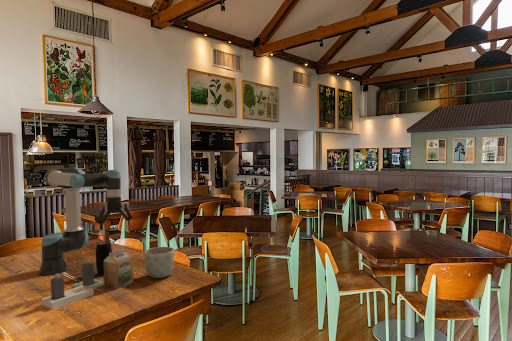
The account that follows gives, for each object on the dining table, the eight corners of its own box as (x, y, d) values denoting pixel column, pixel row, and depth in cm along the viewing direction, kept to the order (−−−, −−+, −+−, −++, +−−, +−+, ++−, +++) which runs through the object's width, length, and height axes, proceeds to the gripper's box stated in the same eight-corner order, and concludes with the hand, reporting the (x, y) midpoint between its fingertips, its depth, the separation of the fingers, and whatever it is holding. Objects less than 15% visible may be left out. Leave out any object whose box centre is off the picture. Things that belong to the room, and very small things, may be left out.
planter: (180, 273, 207) (180, 248, 207) (161, 282, 192) (161, 255, 192) (158, 270, 215) (157, 245, 214) (138, 278, 199) (137, 252, 199)
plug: (83, 286, 187) (82, 260, 187) (90, 284, 191) (89, 259, 190) (87, 287, 185) (86, 261, 185) (94, 285, 188) (93, 260, 188)
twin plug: (51, 303, 165) (50, 274, 164) (60, 301, 168) (59, 272, 168) (55, 305, 162) (54, 276, 162) (64, 302, 166) (63, 273, 165)
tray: (73, 288, 186) (73, 284, 186) (92, 281, 196) (92, 278, 195) (84, 292, 180) (84, 288, 180) (103, 285, 189) (103, 281, 189)
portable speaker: (110, 276, 205) (109, 243, 204) (93, 277, 204) (92, 244, 203) (115, 271, 213) (113, 240, 212) (99, 272, 212) (98, 240, 212)
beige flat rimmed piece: (41, 305, 164) (41, 297, 164) (82, 292, 180) (82, 283, 180) (52, 310, 158) (52, 301, 158) (93, 295, 175) (93, 287, 175)
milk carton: (116, 290, 182) (115, 254, 182) (104, 286, 188) (103, 252, 187) (133, 283, 191) (132, 249, 191) (121, 280, 197) (119, 247, 196)
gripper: (93, 199, 186) (95, 238, 187) (137, 195, 204) (138, 230, 204) (88, 198, 191) (90, 236, 192) (131, 194, 209) (133, 229, 209)
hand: (115, 233), depth 198 cm, fingers open, 13 cm apart
